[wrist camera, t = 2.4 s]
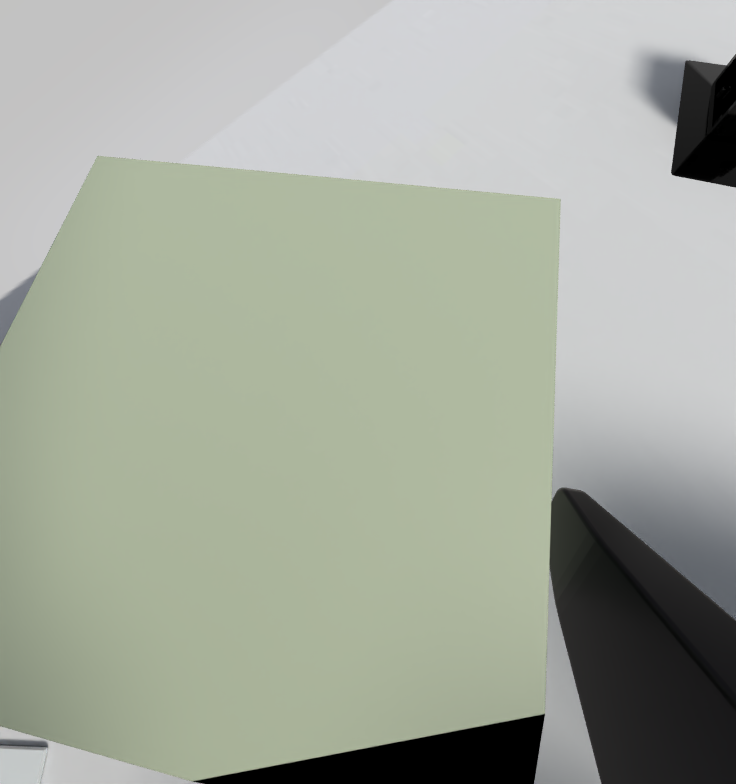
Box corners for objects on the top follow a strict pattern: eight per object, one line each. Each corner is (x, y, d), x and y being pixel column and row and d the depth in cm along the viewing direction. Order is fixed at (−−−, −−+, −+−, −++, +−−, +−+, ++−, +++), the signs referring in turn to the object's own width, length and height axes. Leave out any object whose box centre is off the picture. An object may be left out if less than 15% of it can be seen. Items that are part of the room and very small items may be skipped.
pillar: (406, 542, 14) (538, 880, 2) (302, 522, 15) (-168, 676, 2) (421, 436, 15) (560, 198, 3) (324, 420, 16) (97, 155, 3)
